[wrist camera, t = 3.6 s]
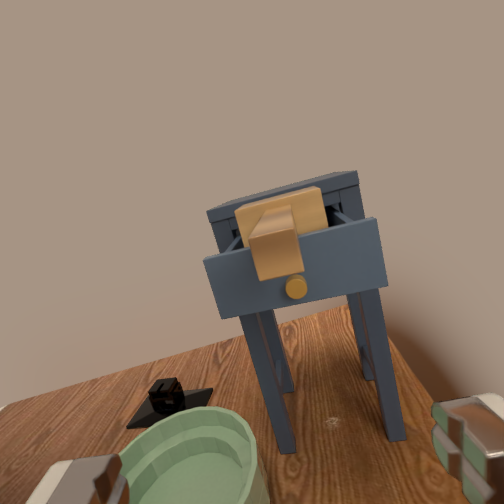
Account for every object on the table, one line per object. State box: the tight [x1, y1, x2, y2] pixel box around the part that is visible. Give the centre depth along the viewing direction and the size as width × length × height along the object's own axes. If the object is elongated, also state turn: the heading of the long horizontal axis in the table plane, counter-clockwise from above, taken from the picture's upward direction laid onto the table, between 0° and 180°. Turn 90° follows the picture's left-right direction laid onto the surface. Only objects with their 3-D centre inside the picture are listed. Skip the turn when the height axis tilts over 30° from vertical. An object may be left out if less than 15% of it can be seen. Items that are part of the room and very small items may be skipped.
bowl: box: [119, 406, 270, 504], centre depth 30 cm, size 17×17×6 cm
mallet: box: [234, 186, 328, 281], centre depth 18 cm, size 14×6×6 cm, turn 174°
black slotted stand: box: [126, 377, 213, 429], centre depth 47 cm, size 12×7×5 cm, turn 80°
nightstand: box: [203, 171, 407, 454], centre depth 31 cm, size 22×14×29 cm, turn 174°
